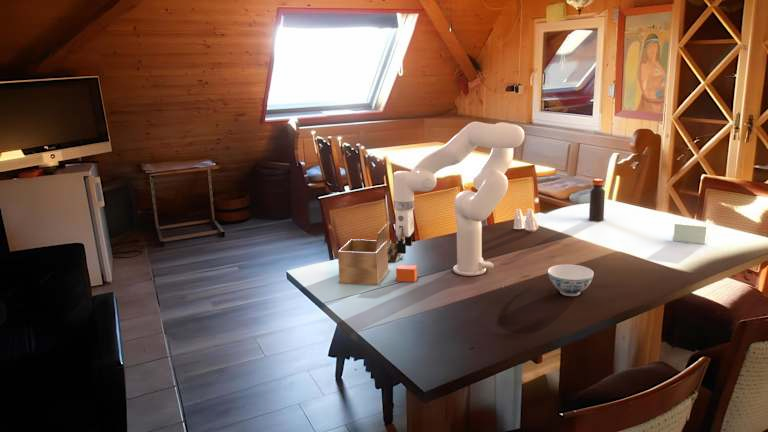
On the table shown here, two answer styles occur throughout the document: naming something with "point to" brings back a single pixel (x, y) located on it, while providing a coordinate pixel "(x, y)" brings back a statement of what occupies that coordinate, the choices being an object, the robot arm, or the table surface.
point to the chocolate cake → (393, 252)
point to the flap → (382, 236)
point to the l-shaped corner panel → (691, 233)
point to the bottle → (597, 201)
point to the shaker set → (530, 221)
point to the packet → (406, 273)
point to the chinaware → (570, 278)
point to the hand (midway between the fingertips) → (404, 249)
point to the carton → (362, 262)
